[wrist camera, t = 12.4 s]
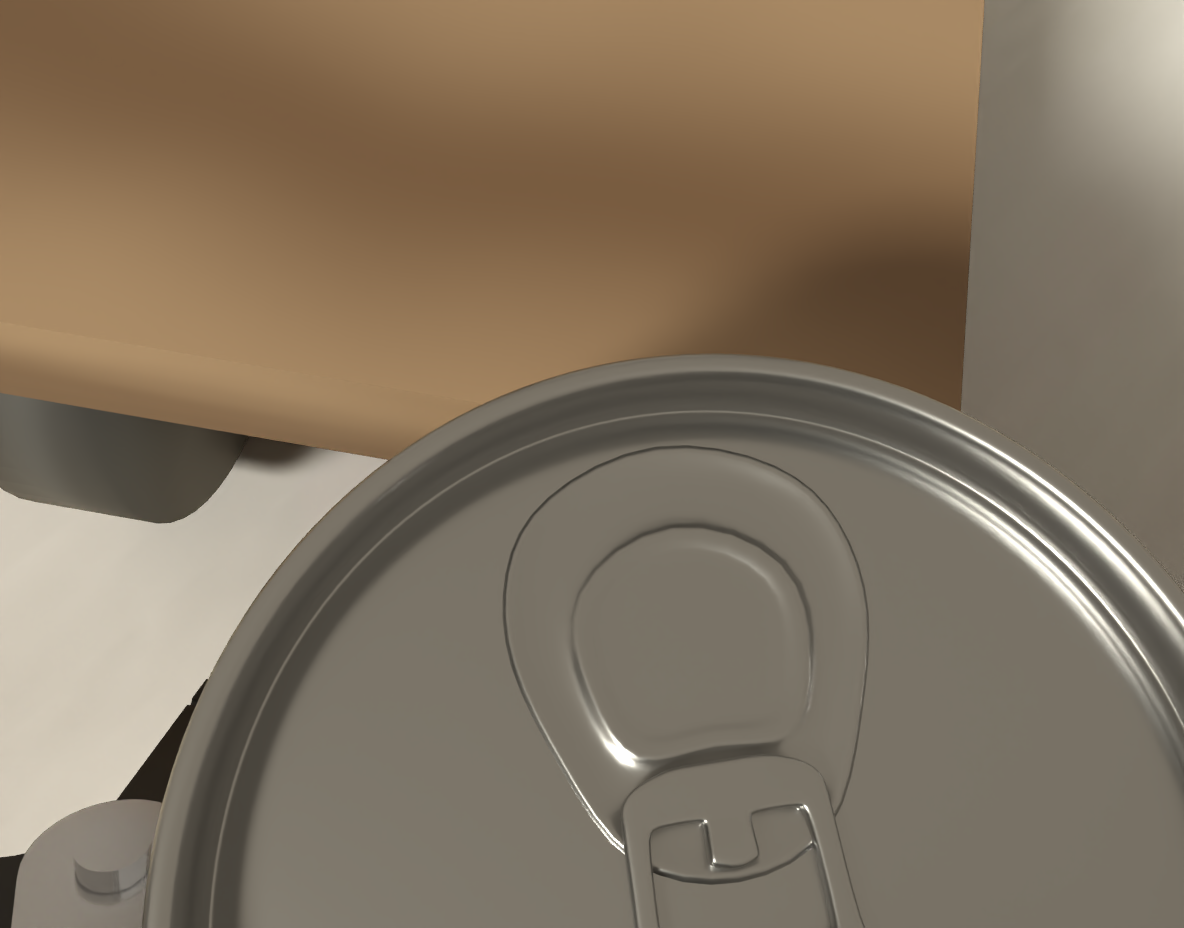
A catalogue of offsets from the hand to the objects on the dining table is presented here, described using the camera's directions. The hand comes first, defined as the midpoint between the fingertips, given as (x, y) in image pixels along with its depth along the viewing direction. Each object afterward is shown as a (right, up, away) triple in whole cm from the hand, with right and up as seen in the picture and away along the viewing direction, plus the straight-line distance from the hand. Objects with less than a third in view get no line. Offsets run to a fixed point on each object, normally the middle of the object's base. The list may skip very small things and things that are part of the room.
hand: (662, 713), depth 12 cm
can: (0, -3, +5) cm, 6 cm away
